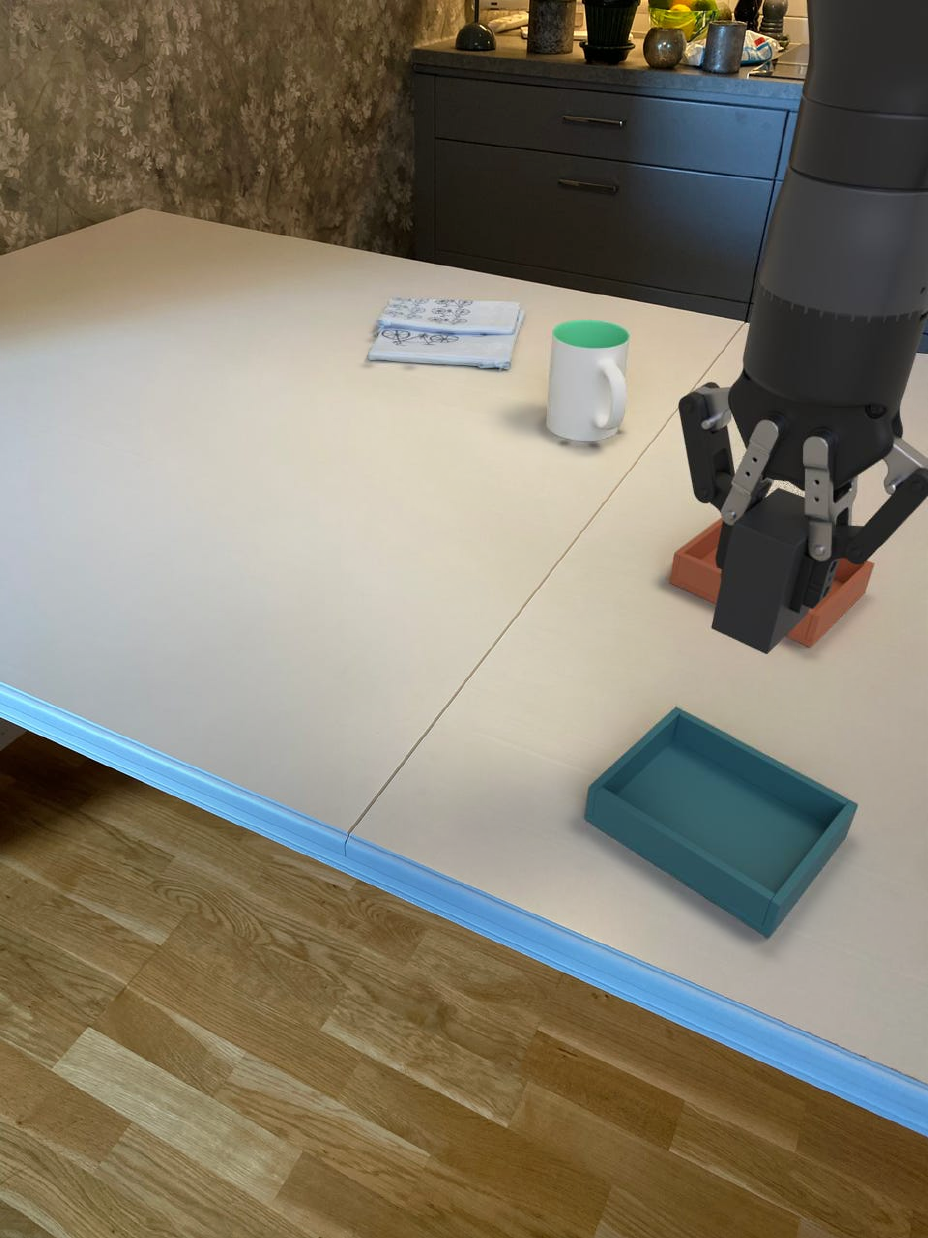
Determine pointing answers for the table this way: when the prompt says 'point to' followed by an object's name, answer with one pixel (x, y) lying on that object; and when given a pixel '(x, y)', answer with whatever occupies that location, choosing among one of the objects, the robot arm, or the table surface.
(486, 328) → the light blue folded towel
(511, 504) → the table surface
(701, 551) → the terracotta bin
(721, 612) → the block
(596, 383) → the mug
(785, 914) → the teal bin
